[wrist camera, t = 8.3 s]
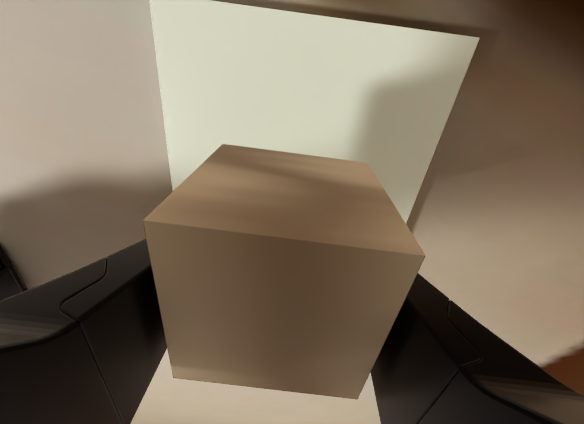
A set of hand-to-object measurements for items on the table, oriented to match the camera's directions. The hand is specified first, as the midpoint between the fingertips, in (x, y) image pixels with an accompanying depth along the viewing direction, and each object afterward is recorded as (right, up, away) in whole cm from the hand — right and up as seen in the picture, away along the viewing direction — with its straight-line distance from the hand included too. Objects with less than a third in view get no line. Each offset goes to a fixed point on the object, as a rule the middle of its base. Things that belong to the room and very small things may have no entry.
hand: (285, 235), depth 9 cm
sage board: (0, +4, +6) cm, 7 cm away
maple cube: (0, +1, +1) cm, 1 cm away
